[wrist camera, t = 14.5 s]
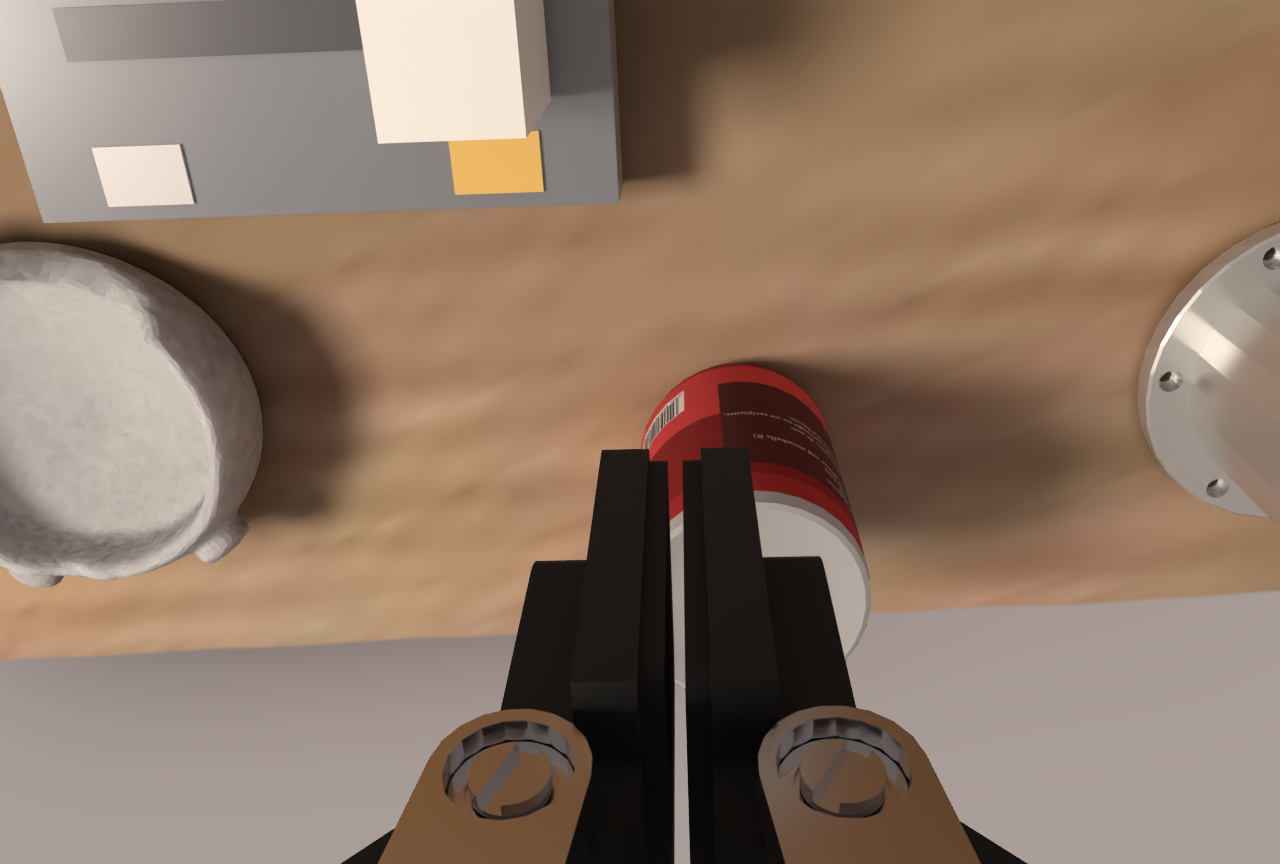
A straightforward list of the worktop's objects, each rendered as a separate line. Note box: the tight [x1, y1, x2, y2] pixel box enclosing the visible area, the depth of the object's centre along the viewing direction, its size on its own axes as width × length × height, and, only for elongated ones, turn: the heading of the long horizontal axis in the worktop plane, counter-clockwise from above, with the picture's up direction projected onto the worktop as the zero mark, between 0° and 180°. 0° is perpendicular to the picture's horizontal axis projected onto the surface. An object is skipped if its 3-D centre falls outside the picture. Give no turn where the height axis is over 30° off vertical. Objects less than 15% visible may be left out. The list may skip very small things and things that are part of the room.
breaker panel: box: [0, 0, 623, 223], centre depth 33 cm, size 20×12×3 cm, turn 92°
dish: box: [0, 242, 263, 587], centre depth 40 cm, size 14×14×5 cm
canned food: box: [641, 364, 871, 688], centre depth 37 cm, size 8×8×11 cm
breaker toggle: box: [355, 0, 551, 144], centre depth 29 cm, size 4×5×6 cm
